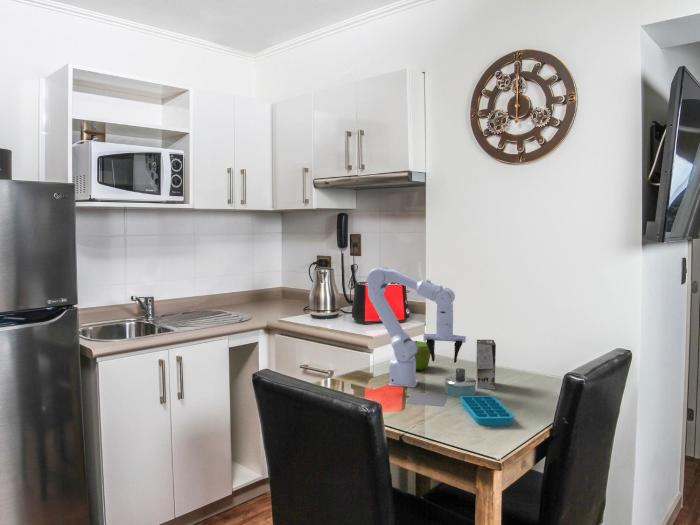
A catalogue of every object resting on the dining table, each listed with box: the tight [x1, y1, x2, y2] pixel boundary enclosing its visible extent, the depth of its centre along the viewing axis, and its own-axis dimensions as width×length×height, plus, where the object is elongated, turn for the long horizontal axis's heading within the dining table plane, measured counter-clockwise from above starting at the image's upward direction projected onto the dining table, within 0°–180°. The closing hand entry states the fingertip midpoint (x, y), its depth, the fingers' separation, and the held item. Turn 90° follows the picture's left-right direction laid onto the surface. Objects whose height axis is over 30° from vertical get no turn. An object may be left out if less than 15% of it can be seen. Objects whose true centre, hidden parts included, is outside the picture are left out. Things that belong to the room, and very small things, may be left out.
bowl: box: [444, 382, 476, 398], centre depth 186 cm, size 10×10×4 cm
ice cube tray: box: [458, 395, 515, 427], centre depth 165 cm, size 12×20×3 cm, turn 3°
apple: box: [413, 340, 431, 371], centre depth 219 cm, size 12×12×11 cm
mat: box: [405, 391, 448, 407], centre depth 179 cm, size 12×12×1 cm
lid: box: [444, 367, 477, 387], centre depth 185 cm, size 10×10×5 cm
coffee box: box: [475, 339, 497, 390], centre depth 195 cm, size 9×6×16 cm
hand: (444, 361), depth 191 cm, fingers open, 7 cm apart
